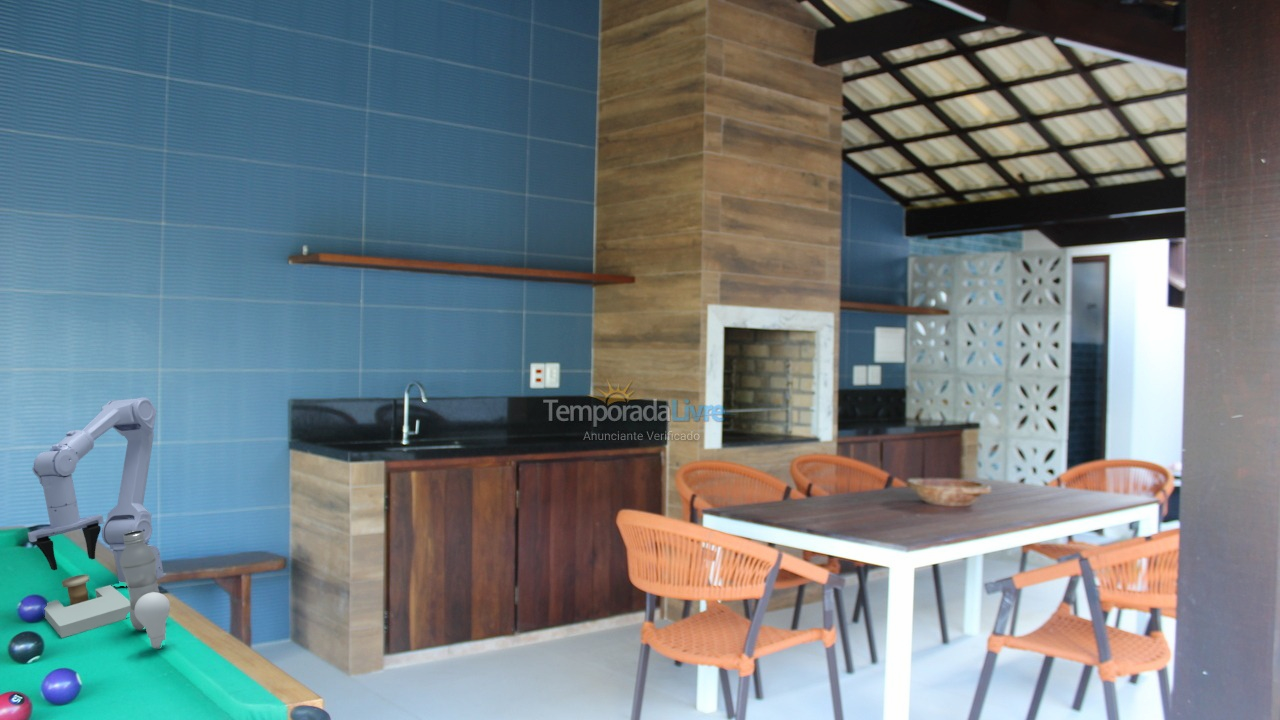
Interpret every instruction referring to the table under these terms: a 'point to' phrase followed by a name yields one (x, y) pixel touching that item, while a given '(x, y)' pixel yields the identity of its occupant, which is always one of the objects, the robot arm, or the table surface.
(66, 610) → the notched board
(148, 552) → the plastic bottle
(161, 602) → the lightbulb
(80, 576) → the bobbin
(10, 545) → the table surface
